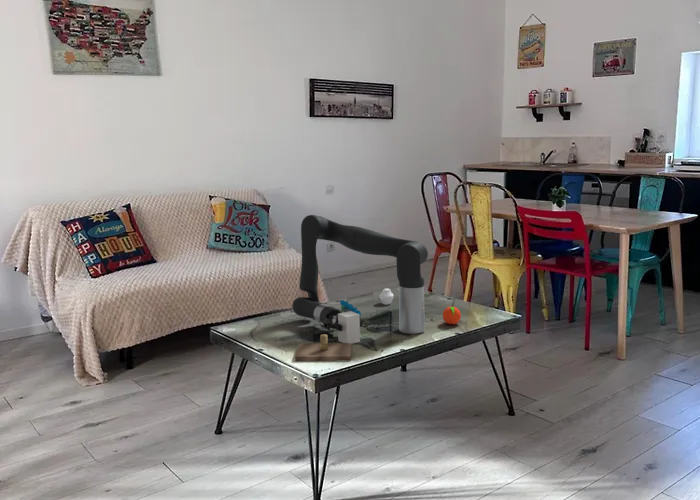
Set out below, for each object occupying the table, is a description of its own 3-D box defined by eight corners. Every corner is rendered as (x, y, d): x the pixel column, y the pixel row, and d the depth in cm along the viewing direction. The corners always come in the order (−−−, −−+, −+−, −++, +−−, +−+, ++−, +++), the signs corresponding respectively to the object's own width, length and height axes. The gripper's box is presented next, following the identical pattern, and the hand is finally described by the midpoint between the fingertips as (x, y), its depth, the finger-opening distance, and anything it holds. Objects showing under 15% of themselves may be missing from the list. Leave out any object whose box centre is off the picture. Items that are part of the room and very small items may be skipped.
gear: (366, 314, 245) (349, 299, 241) (358, 326, 244) (340, 311, 240) (352, 311, 255) (336, 297, 251) (344, 323, 253) (328, 309, 249)
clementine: (462, 327, 232) (463, 309, 231) (444, 327, 232) (444, 309, 231) (459, 321, 240) (459, 303, 239) (441, 321, 240) (441, 304, 239)
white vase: (393, 301, 270) (393, 286, 269) (393, 305, 264) (393, 289, 263) (379, 301, 270) (379, 286, 269) (379, 305, 264) (379, 289, 263)
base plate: (351, 347, 212) (351, 329, 211) (350, 360, 199) (350, 341, 198) (299, 347, 212) (298, 329, 211) (295, 361, 200) (294, 341, 198)
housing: (351, 337, 222) (350, 311, 220) (359, 341, 218) (359, 314, 216) (338, 340, 219) (337, 313, 217) (346, 344, 215) (346, 317, 213)
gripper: (310, 309, 224) (334, 319, 211) (343, 302, 232) (368, 312, 219) (311, 328, 226) (334, 340, 212) (343, 322, 234) (368, 332, 220)
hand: (351, 326), depth 216 cm, fingers open, 8 cm apart
